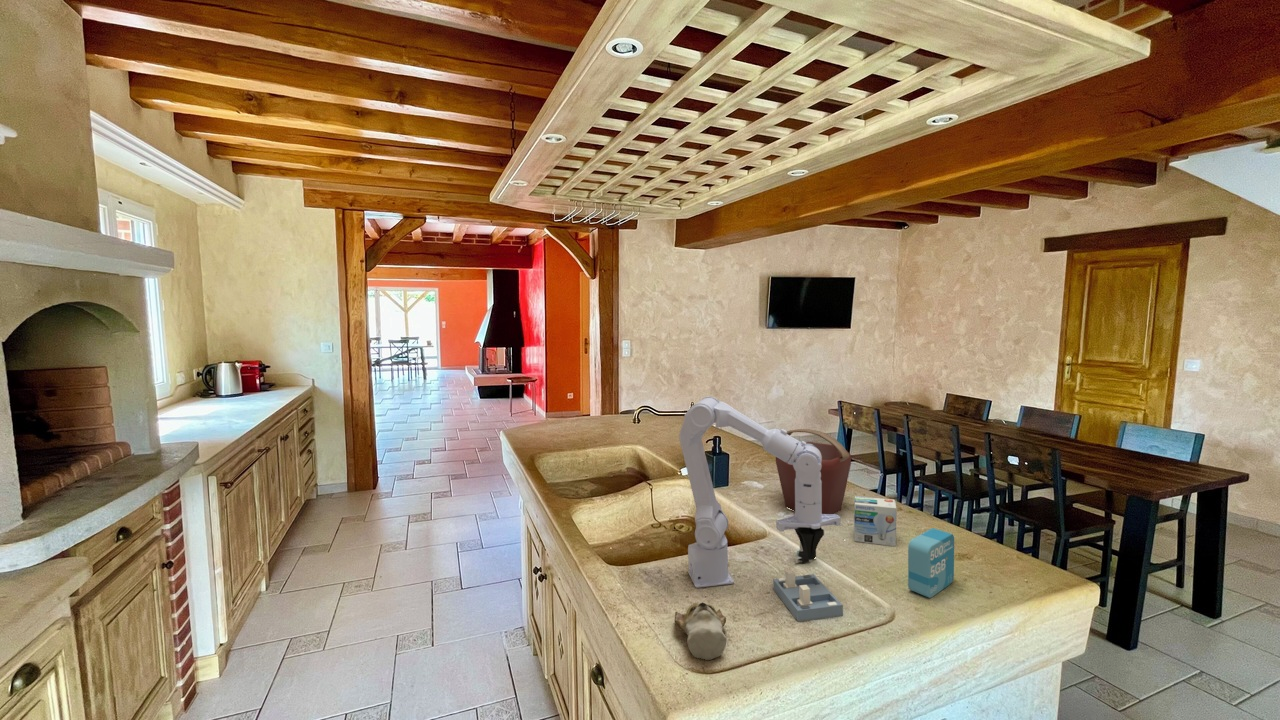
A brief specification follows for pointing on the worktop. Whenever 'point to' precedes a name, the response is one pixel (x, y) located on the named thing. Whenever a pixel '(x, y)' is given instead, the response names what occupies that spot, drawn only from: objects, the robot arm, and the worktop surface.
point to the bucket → (832, 473)
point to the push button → (802, 556)
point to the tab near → (804, 596)
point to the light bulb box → (875, 520)
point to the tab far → (789, 579)
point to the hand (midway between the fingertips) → (808, 557)
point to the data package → (930, 562)
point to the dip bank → (819, 596)
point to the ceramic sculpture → (703, 630)
